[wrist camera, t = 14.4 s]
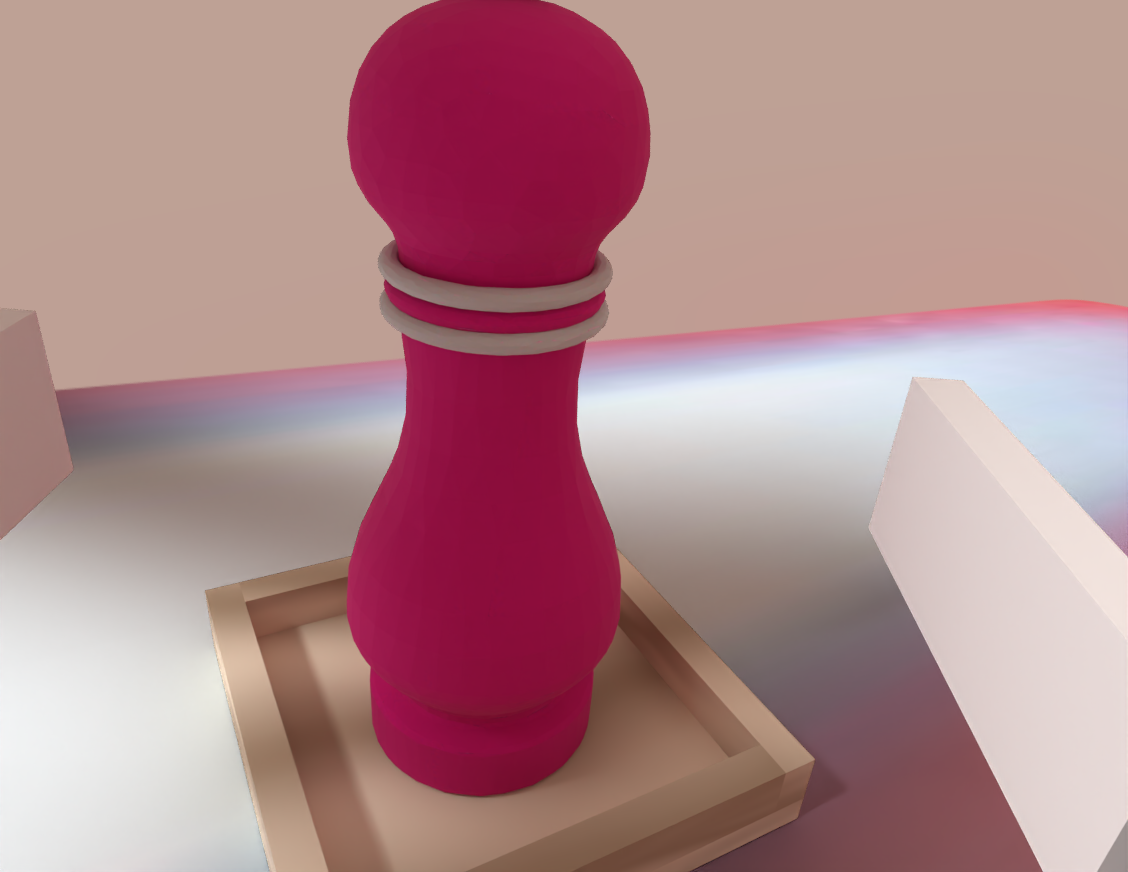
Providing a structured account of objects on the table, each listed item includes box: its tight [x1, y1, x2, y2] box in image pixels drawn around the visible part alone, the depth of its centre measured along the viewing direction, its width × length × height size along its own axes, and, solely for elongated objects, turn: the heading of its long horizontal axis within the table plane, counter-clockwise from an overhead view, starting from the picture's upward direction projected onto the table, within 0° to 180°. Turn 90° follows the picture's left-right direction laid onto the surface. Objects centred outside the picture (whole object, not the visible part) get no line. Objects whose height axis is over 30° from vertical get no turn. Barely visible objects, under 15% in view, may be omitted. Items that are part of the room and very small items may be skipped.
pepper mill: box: [347, 0, 650, 796], centre depth 20 cm, size 7×7×20 cm
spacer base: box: [205, 548, 815, 872], centre depth 24 cm, size 13×13×2 cm
